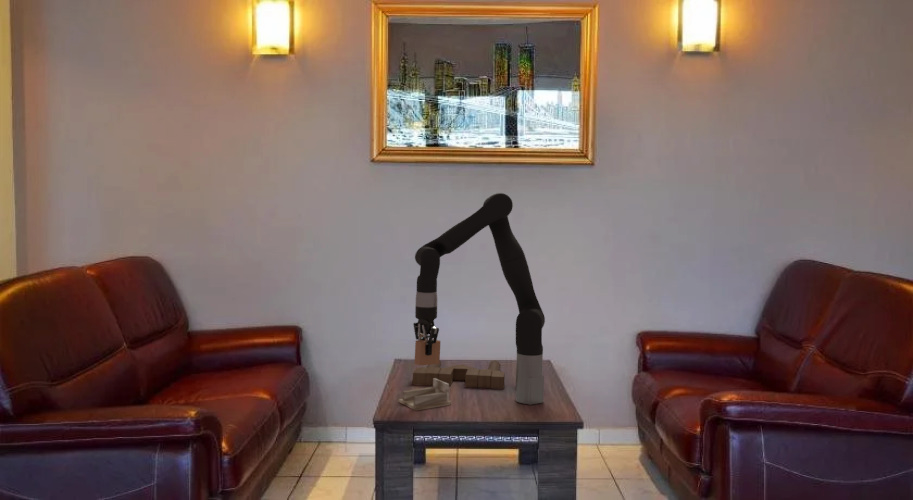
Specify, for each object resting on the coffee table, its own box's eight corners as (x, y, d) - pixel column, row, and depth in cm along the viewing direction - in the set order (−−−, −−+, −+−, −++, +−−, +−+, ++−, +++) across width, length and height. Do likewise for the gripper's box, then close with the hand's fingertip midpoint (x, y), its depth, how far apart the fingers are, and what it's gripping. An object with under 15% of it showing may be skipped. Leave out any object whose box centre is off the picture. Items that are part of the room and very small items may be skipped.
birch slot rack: (450, 404, 240) (451, 384, 240) (415, 410, 232) (416, 390, 232) (432, 396, 250) (433, 377, 250) (398, 401, 242) (398, 382, 242)
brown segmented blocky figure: (503, 390, 262) (506, 372, 292) (504, 376, 262) (506, 359, 291) (412, 386, 266) (424, 368, 295) (412, 372, 266) (424, 355, 295)
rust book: (439, 363, 242) (440, 341, 241) (419, 365, 237) (420, 342, 237) (434, 361, 245) (435, 339, 244) (414, 363, 240) (415, 340, 240)
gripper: (446, 306, 235) (445, 356, 236) (425, 301, 247) (424, 349, 248) (427, 308, 231) (426, 359, 232) (406, 302, 243) (406, 351, 244)
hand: (425, 353), depth 240 cm, fingers closed on rust book, 3 cm apart
